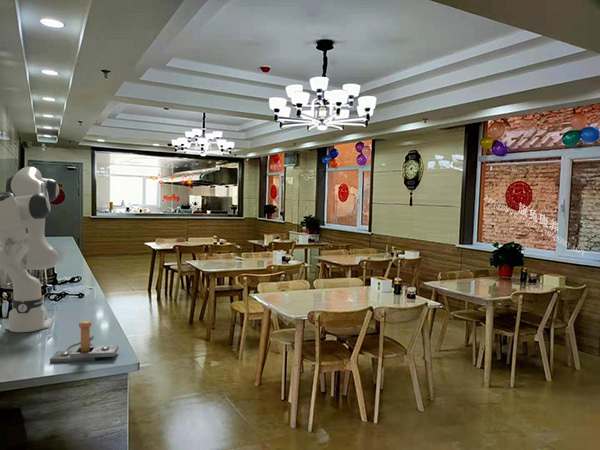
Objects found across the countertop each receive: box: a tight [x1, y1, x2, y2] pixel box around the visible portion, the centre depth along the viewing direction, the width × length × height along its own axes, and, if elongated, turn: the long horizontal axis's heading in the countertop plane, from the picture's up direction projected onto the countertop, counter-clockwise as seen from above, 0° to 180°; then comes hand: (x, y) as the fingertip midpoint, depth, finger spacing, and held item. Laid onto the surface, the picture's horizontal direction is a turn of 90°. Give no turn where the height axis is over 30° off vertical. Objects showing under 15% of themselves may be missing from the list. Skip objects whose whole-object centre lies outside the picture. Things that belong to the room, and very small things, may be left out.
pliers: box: [66, 335, 94, 351], centre depth 193 cm, size 10×1×20 cm
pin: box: [78, 320, 92, 352], centre depth 176 cm, size 4×4×14 cm
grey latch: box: [49, 344, 119, 364], centre depth 177 cm, size 9×23×4 cm, turn 102°
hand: (22, 268), depth 176 cm, fingers open, 8 cm apart
